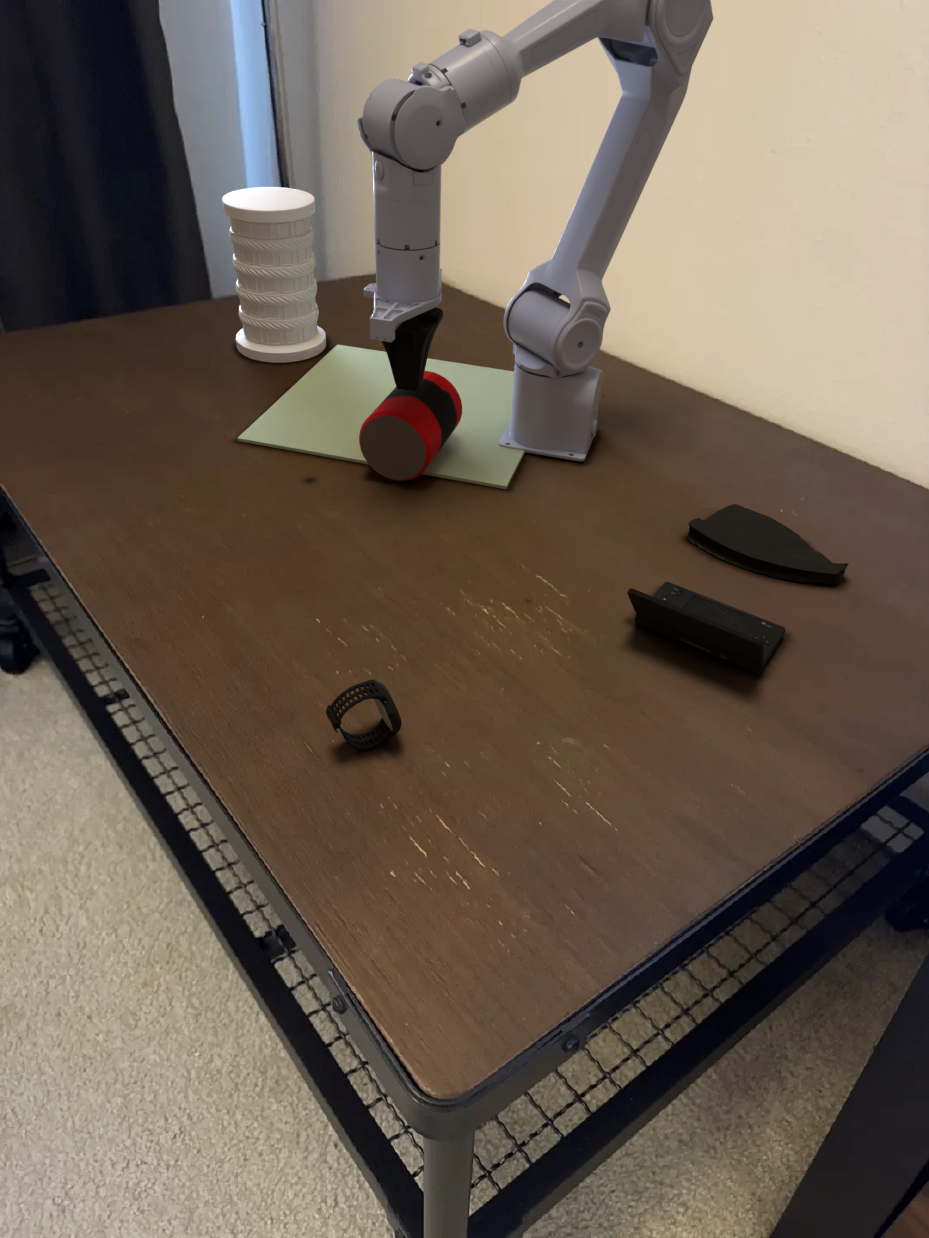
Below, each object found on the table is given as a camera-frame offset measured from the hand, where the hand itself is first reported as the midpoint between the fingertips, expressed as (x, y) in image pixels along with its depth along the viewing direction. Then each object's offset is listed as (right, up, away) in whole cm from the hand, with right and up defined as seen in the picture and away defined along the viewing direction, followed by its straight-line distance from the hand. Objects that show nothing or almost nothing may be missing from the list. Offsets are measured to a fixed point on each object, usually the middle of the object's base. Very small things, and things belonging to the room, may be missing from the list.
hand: (408, 387), depth 87 cm
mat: (-1, +2, +18) cm, 18 cm away
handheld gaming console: (+25, -24, -13) cm, 37 cm away
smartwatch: (-2, -31, -23) cm, 39 cm away
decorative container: (-19, +13, +31) cm, 39 cm away
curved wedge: (+33, -16, -3) cm, 37 cm away
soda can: (-2, -6, +1) cm, 6 cm away
